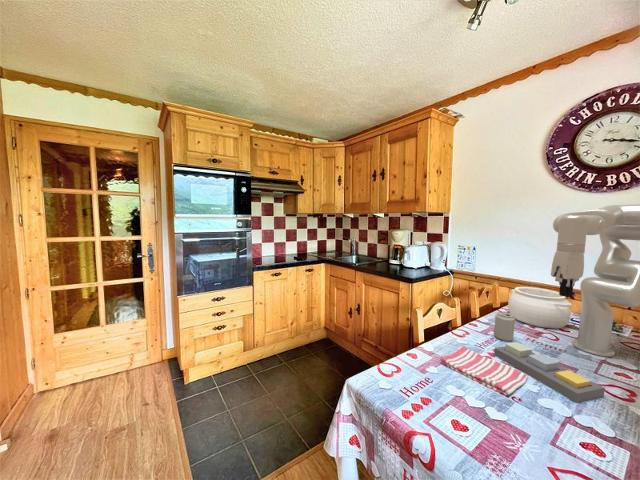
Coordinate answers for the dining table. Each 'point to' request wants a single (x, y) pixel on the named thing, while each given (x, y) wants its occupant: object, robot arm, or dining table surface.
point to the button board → (551, 378)
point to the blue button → (543, 362)
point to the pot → (539, 307)
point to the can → (504, 326)
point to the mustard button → (573, 379)
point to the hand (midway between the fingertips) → (565, 296)
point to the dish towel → (485, 370)
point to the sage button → (518, 349)
